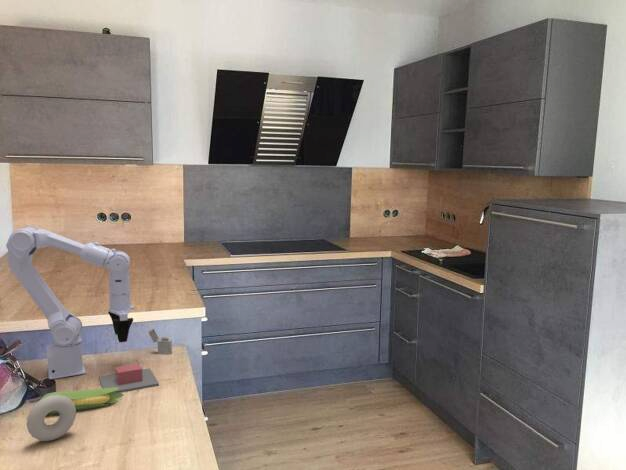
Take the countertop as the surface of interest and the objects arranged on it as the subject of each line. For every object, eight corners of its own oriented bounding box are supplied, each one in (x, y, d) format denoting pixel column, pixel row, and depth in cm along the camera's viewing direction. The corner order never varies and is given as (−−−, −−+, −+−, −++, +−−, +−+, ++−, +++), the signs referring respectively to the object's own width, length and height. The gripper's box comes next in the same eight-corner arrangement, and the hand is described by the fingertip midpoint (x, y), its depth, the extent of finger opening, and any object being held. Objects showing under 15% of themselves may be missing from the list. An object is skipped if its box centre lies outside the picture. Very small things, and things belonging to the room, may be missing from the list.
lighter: (171, 352, 167) (171, 328, 166) (170, 354, 165) (169, 330, 164) (150, 351, 167) (149, 328, 166) (148, 353, 166) (148, 329, 165)
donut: (73, 428, 118) (71, 387, 117) (79, 434, 115) (77, 392, 114) (25, 444, 111) (23, 400, 110) (30, 450, 108) (28, 405, 107)
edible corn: (37, 393, 126) (35, 395, 122) (124, 384, 134) (124, 386, 130) (37, 414, 126) (35, 417, 121) (124, 404, 133) (124, 407, 129)
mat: (104, 395, 135) (104, 393, 135) (99, 378, 145) (99, 376, 145) (158, 385, 142) (158, 383, 142) (149, 370, 152) (149, 368, 152)
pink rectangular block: (142, 380, 143) (142, 368, 143) (118, 385, 140) (117, 372, 140) (139, 375, 147) (138, 363, 147) (115, 379, 144) (115, 367, 143)
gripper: (138, 297, 146) (139, 343, 148) (130, 286, 159) (131, 329, 160) (111, 299, 143) (113, 346, 144) (105, 288, 155) (107, 332, 157)
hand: (120, 337), depth 152 cm, fingers open, 7 cm apart
